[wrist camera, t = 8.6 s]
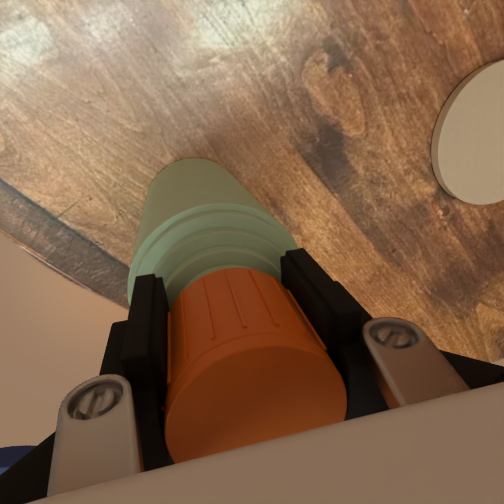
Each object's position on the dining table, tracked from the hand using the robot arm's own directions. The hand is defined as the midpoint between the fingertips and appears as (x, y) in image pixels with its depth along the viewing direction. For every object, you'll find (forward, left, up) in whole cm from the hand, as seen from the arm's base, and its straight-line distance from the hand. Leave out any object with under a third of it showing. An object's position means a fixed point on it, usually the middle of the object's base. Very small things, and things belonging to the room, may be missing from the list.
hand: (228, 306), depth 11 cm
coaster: (+11, -19, -14) cm, 26 cm away
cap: (0, 0, +1) cm, 1 cm away
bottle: (0, 0, -14) cm, 14 cm away
